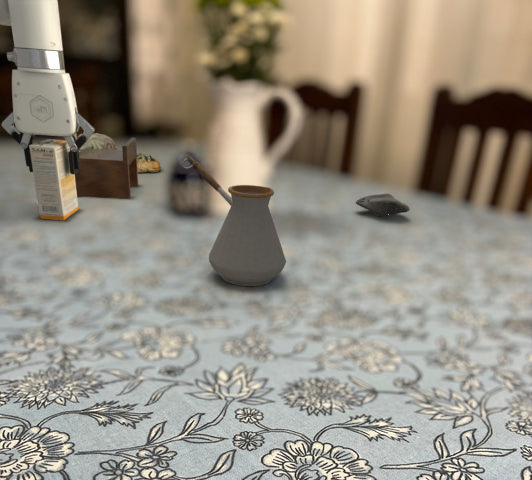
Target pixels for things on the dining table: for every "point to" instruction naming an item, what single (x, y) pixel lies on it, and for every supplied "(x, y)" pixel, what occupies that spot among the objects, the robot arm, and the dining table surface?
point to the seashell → (382, 205)
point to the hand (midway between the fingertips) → (54, 171)
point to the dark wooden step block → (107, 171)
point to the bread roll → (147, 163)
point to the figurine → (98, 142)
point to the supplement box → (53, 179)
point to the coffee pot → (245, 235)
